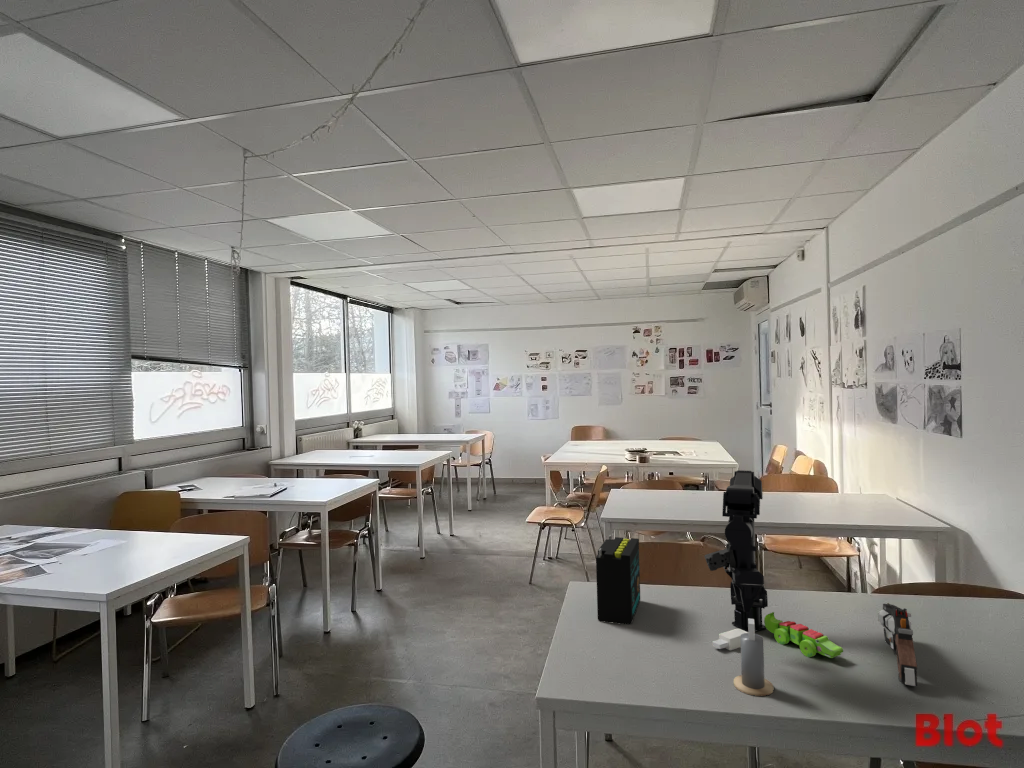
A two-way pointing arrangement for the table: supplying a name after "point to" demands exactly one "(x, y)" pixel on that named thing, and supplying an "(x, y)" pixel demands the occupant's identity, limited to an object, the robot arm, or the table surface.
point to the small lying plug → (729, 639)
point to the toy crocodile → (801, 637)
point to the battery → (618, 580)
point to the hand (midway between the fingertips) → (743, 606)
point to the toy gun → (900, 641)
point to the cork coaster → (757, 692)
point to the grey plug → (752, 658)
